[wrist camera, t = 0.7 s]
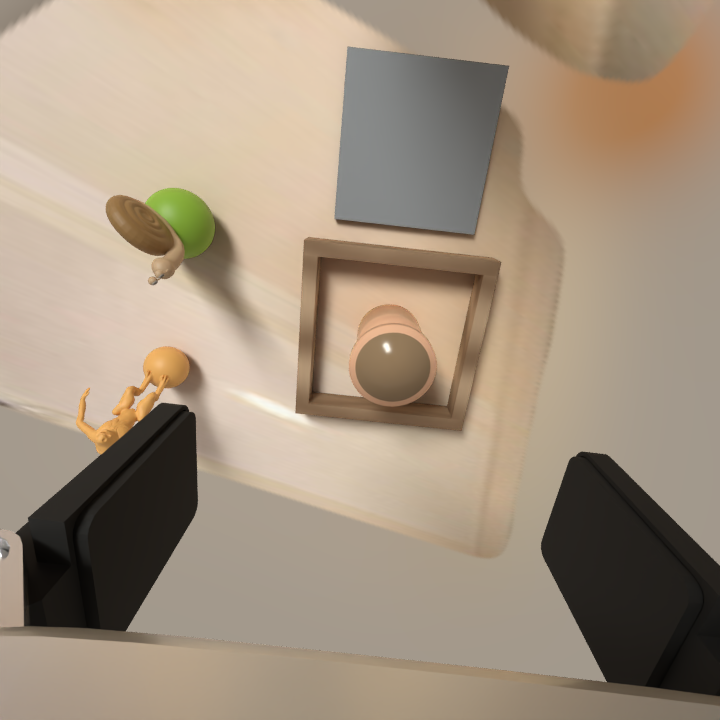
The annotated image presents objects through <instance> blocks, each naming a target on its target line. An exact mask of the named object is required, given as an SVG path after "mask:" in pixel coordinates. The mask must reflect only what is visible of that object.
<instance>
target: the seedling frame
mask: <svg viewBox="0 0 720 720" xmlns="http://www.w3.org/2000/svg"><path fill="white" fill-rule="evenodd" d="M321 257H327V258H336V259H345V260H353V261H362V262H371V263H380V264H389V265H398V266H407V267H416V268H425V269H434V270H443V271H452V272H461V273H470V274H476V275H475V279H474V284H473V289H472V293H471V298H470V303H469V307H468V312H467V316H466V321H465V326H464V330H463V335H462V340H461V344H460V349H459V354H458V358H457V363H456V367H455V372H454V377H453V381H452V386H451V391H450V395H449V400H448V405H447V406H438V405H429V404H420V403H409V404H406V405H402V406H394V407H391V406H382V405H378V404H375V403H373V402H371V401H369V400H367V399H366V398H364V397H354V396H345V395H336V394H326V393H317V392H312V384H313V369H314V354H315V339H316V324H317V309H318V294H319V279H320V264H321ZM500 266H501V262H500V261H498V260H496V259H494V258H489V257H480V256H471V255H462V254H453V253H445V252H436V251H427V250H418V249H409V248H400V247H391V246H382V245H373V244H365V243H356V242H347V241H338V240H329V239H320V238H311V237H308V238H307V239H305V240H304V252H303V272H302V292H301V312H300V332H299V353H298V373H297V393H296V413H299V414H309V415H318V416H327V417H337V418H346V419H356V420H365V421H374V422H384V423H393V424H403V425H412V426H421V427H431V428H440V429H450V430H459V431H461V430H462V426H463V422H464V417H465V413H466V409H467V405H468V400H469V396H470V392H471V388H472V384H473V379H474V375H475V371H476V367H477V363H478V358H479V354H480V350H481V346H482V342H483V337H484V333H485V329H486V325H487V320H488V316H489V312H490V308H491V304H492V299H493V295H494V291H495V287H496V283H497V278H498V274H499V270H500Z"/></svg>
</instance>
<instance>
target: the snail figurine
mask: <svg viewBox="0 0 720 720" xmlns="http://www.w3.org/2000/svg"><path fill="white" fill-rule="evenodd" d="M106 213H107V217H108V219H109V221H110V222H111V224H112V225H113V227H114V228H115V229H116V231H117V232H118V233H119V234H120V235H121V236H122V237H123V238H124V239H125V240H126V241H128V242H129V243H130V244H131V245H133V246H134V247H136V248H137V249H139V250H141V251H143V252H145V253H148V254H150V255H155V256H162V255H165V256H164V257H163V258H157V259H155V260H154V261H153V262H152V271H153V272H154V274H155V276H156V277H157V278H159V279H157V278H155V277H150V278H149V279H148V282H149V284H150V285H155V284H157V282H158V280H160V279H161V278H162V279H168V278H170V277H171V276H172V275H173V274H174V272H175V270H176V269H177V268H178V267H179V266H180V264H181V263H182V261H183V259H188V258H193V257H196V256H198V255H200V254H202V253H203V252H204V251H205V250H206V249H207V248H208V247H209V246H210V244H211V242H212V240H213V238H214V233H215V223H214V218H213V215H212V213H211V211H210V209H209V208H208V206H207V205H206V204H205V202H204V201H203V200H202V199H200V198H199V197H198V196H197V195H195V194H193V193H191V192H189V191H187V190H184V189H179V188H167V189H163V190H160V191H158V192H156V193H154V194H153V195H152V196H151V197H150V198H149V199H148V200H147V201H146V203H143V202H141V201H139V200H136V199H133V198H131V197H128V196H123V195H117V196H113V197H111V198H110V199H109V200H108V202H107V204H106Z"/></svg>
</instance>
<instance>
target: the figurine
mask: <svg viewBox="0 0 720 720" xmlns="http://www.w3.org/2000/svg"><path fill="white" fill-rule="evenodd" d="M189 369H190V365H189V361H188V359H187V357H186V355H185V354H184V353H183V352H181V351H180V350H178V349H176V348H173V347H160V348H157V349H155V350H153V351H152V352H151V353H149V354H148V356H147V357H146V359H145V361H144V365H143V370H144V374H145V379H144V381H143V383H142V385H141V386H140V388H136V387H134V386H130V387H127V388H126V391H125V393H124V394H123V396H122V398H121V400H120V402H119V404H118V405H117V406H116V407H115V408H114V409H113V411H112V413H113V414H114V415H119V416H118V417H117V418H114V419H113V420H110V421H107V422H106V423H104V424H103V425H102V426H101V427H100V428H99V429H98V430H95V429H94V428H92V427H91V426H89V425H88V424H86V423H84V422H83V420H84V414H85V409H86V403H85V398H86V396H87V395H88V394H89V392H88V391H89V389H90V388H88V389H87V390H86V391H85V393H84V394H83V395H82V397H81V399H80V404H79V412H78V417H77V420H76V425H77V426H78V428H79V429H80V430H81V431H82V432H84V433H85V434H86V435H87V436H88V438H89V439H90V440H91V441H92V442H94V443H95V445H96V450H97V452H98V453H99V454H102V453H103V452H105V451H106V450H107V449H108V448H109V447H110V446H112V445H113V444H114V443H115V442H116V441H117V440H119V439H120V438H121V437H122V436H123V435H124V434H125V433H127V432H128V431H129V430H130V429H131V428H132V427H133V425H134V423H135V421H138V422H139V421H140V420H142V419H143V418H144V417H145V416H146V415H147V414H149V412H150V411H151V409H152V408H153V406H154V402H155V401H157V400H158V399H159V396H160V394H161V392H162V391H163V389H164V388H173V387H176V386H178V385H180V384H181V383H182V382H183V381H184V380H185V379H186V378H187V376H188V374H189ZM149 383H152V384H153V385H155V386H157V387H158V388H157V390H156V392H152V393H150V394H148V395H147V396H146V397H145V398H144V399H143V400H141V401H140V402H139V403H138V405H137V409H136V411H135V409H130V407H131V406H132V405H133V403H134V401H135V399H134V396H139V395H140V394H141V393H143V392H144V390H145V389H146V387H147V386H148V384H149Z"/></svg>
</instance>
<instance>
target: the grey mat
mask: <svg viewBox="0 0 720 720" xmlns="http://www.w3.org/2000/svg"><path fill="white" fill-rule="evenodd" d="M508 69H509V66H505V65H497V64H488V63H479V62H472V61H464V60H455V59H447V58H439V57H430V56H422V55H413V54H405V53H397V52H388V51H380V50H372V49H363V48H355V47H348V48H347V61H346V74H345V88H344V101H343V114H342V127H341V140H340V153H339V166H338V179H337V192H336V206H335V219H341V220H349V221H358V222H367V223H376V224H385V225H394V226H402V227H411V228H420V229H429V230H438V231H447V232H455V233H464V234H473V235H474V233H475V228H476V224H477V219H478V214H479V209H480V204H481V199H482V195H483V190H484V185H485V180H486V175H487V170H488V166H489V161H490V156H491V151H492V146H493V141H494V136H495V132H496V127H497V122H498V117H499V112H500V107H501V102H502V98H503V93H504V88H505V83H506V78H507V73H508Z"/></svg>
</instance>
